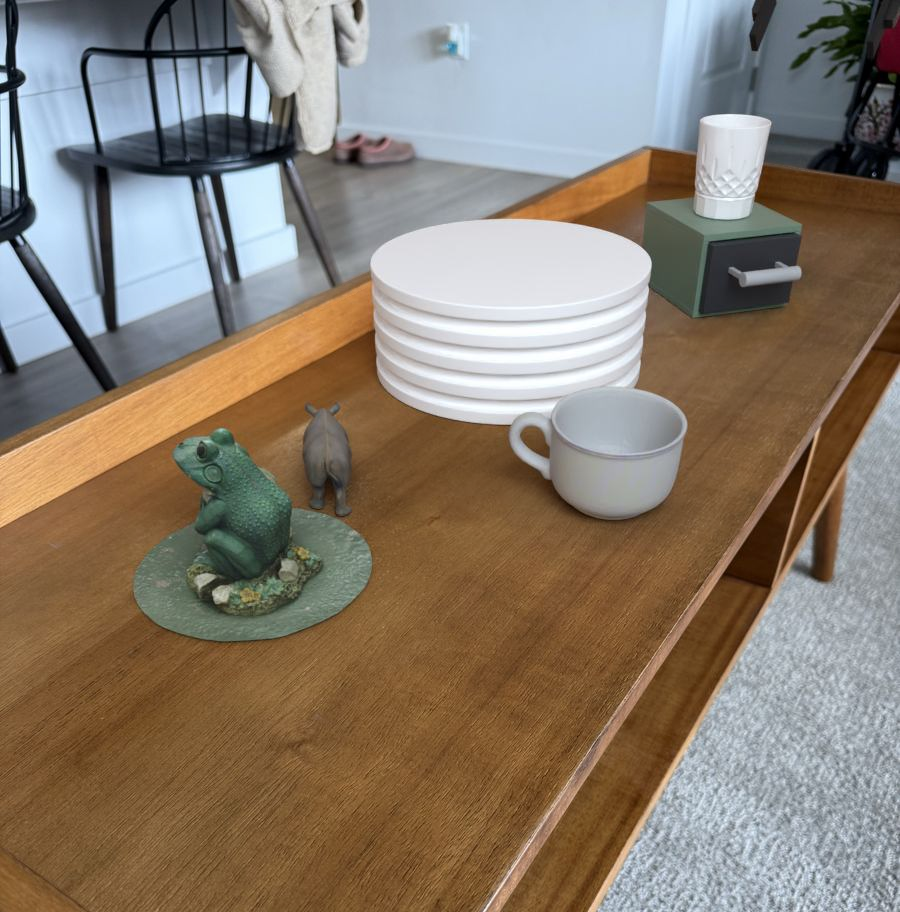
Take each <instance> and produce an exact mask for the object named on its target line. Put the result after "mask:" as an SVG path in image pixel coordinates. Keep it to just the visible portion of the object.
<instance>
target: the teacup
mask: <svg viewBox="0 0 900 912" xmlns="http://www.w3.org/2000/svg"><path fill="white" fill-rule="evenodd" d="M528 427H534V428H537V429H539V430H540V432H541V433H542V434H543V436H544V440H545V443H546V445H547V446H548V447H549V458H548V457H545V456H542V455H540V454H538V453H536V452H535V451H533V450H532V449H530V448H529V447H528V446H527V445H526V444H525V443H524V442H523V440H522V437H521V434H522V431H523V430H524V429H525V428H528ZM687 430H688V420H687V417H686V415H685V413H684V412H683V411H682V409H680V407H679V406H677V405H676V404H675V403H673V402H672V401H671V400H670V399H667V398H665V397H663V396H660V395H658V394H656V393H654V392H650V391H648V390H643V389H642V390H641V389H639V388H635V387H634V388H628V387H616V386H610V387H593V388H588V389H583V390H580V391H576V392H574V393H571V394H569V395H567V396H566V397H564V398H562V399H561V400H560V401H559V402H558V403H557V404H556V406H555V407H554V409H553V411H552V414H551V419H549V418H548V417H547V416H545V415H543V414H541V413H537V412H526V413H523V414H521V415H519V416H518V417H517V418H516V419H515V420H514V421H513V423H512V424H511V425H509V429H508V442H509V445H510V448H511V449H512V451H513V453H514V454H515V456H516V457H518V458H519V459H520V460H521V461H522V462H524V463H525V464H527V465H529V466H530V467H532V468H534V469H535V470H537V471H538V472H540V473H541V475H542V477H543V478H544V479H545V480H549V481H551V482H552V485H553V487H554V489H555V490H556V491H555V492H557V494H558V495H559V496H560V498H561V499H562V500H564V501H565V502H566V503H568V504H569V505H570V506H572V507H573V508H574V509H576V510H577V511H579V512H581V514H582V513H583V514H584V515H587V516H589V517H593V518H595V519H601V520H607V521H620V520H621V521H622V520H627V519H631V518H635V517H637V516H639V515H642V514H644V513H647V512H649V511H651V510H653V509H655V508H657V507H658V506H659V505H660V504H661V503H662V502H664V501H665V500H666V499H667V497H668V496H669V495H670V493H671V491H672V490H673V487H674V484H675V482H676V479H677V476H678V475H677V474H678V471H679V466H680V462H681V457H682V451H683V444H684V438H685V436H686V433H687Z"/></svg>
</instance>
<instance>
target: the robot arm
mask: <svg viewBox="0 0 900 912" xmlns="http://www.w3.org/2000/svg"><path fill="white" fill-rule="evenodd" d="M777 3H778V2H777V0H755V1H754V3H753V5H752V8H751V16H752V22H753V24H752V27H751V29H750V31H749V34H748V37H749V43H750V44H749V45H750V49H751V52H759V49H760V46H761V45H762V42H763V39H764V36H765V34H766V32H767V29H768V27H769V24H770V21H771V20H772V16H773V14H774V11H775V10H776V6H777ZM899 19H900V0H882V1H881V4H880V6H879V9H878V11H877V13H876V16H875V19H874V21H873V24H872V26H871V29H870V32H869V34H868V37H867V39H866V59H871V60H874V59H875V56H876V54H877V51H878V48H879V45H880V43H881V40H882V38H883V35H884V33H885V30H886V29H888V30H893V29H894V28H895V27H896V25H897V23H898V20H899Z"/></svg>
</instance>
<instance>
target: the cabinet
mask: <svg viewBox="0 0 900 912" xmlns="http://www.w3.org/2000/svg"><path fill="white" fill-rule="evenodd" d="M693 206H694V197H684V198H675V199H665V200H664V199H663V200H655V201H647V202H646V206H645V216H644V226H643V235H642V245H641V247H642V248H643V249H644V250H645V251H646V252H647V253H648V255H649V257H650V259H651V262H652V267H651V276H650V281H649V283H648V287H649V289H651V290H653V291H654V292H655V293H657V294H658V295H660V296H661V297H662V298H664V299H665V300H666V301H668V302H670V303H671V304H672V305H674V306H675V307H676V308H678V309H679V310H680V311H682V312H684V314H686V315H687V316H689V317H691V318H692V319H695V318H696V319H697V318H703V317H705V318H706V317H712V316H721V315H726V314H728V315H729V314H735V313H743V312H749V311H750V312H751V311H759V310H766V309H773V308H774V309H775V308H782V307H787V303H782V304H774V305H766V306H759V307H751V308H743V309H735V310H728V311H720V312H712V313H704V314H703V313H702V312H700V311H699V303H700V296H701V289H702V283H703V276H704V269H705V262H706V255H707V248H708V243H709V242H710V241H719V240H728V239H737V238H746V237H755V236H764V235H773V234H782V233H784V235H785V234H794V233H797V234H799V235H801V232H802V228H803V224H802V223H800V222H798V221H796V220H794V219H791V218H790V217H787V216H786V215H783V214H782V213H779V212H777V211H775V210H773V209H770V207H769V208H768V207H766V206H765V205H762V204H760V203H758V202H757V201H754V203H753V208H752V212H751V214H750V215H749V216H748V217H745V218H741V219H735V220H721V219H711V218H710V219H709V218H705V217H702V216H700V215H697V214H696V213H695V212H694V210H693Z"/></svg>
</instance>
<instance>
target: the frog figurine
mask: <svg viewBox="0 0 900 912" xmlns="http://www.w3.org/2000/svg"><path fill="white" fill-rule="evenodd" d="M171 456H172V458H173V461H174V462H175V463H176V466H177V467H178V468H179V470H180V471H181V472H182V473H183V474H184V475H185V476H186V477H188V478H189V479H190V480H192V481H193V482H194V483H195V484H197V486H199V487H200V488H201V490H202V495H201V496H200V498H199V512H198V514H197V515H196V518H195V520H194V522H192V523H190V524H187V525H185V526H184V527H183V528H180V529H178V530H177V531H174V532H172V533H170V534H169V535H168V536H166V537H165V538H164V539H162V540H161V541H159V542H157V544H155V545H154V546H153V547H152V548H151V549H150V550H149V551H148V552H147V553H146V555H145V556H144V557H143V558H142V559H141V561H140V563H139V565H138V566H137V567H136V570H135V573H134V577H133V579H132V580H133V582H132V591H133V597H134V599H135V601H136V604H137V606H138V607H139V608H140V610H141V611H142V612H143V613H144V614H145V616H147V617H148V618H150V620H151V621H153V622H154V623H155V624H156V625H158V626H160V627H161V628H164V629H166V630H169V631H171V632H175V633H177V634H180V635H184V636H187V637H191V638H197V639H198V640H199V639H200V640H206V641H215V642H239V641H241V642H242V641H243V642H244V641H258V640H270V639H277V638H280V637H284V636H285V637H286V636H288V635H291V634H294V633H296V632H299V631H301V630H304V629H307V628H310V627H312V626H315V625H316V624H319V623H321V622H323V621H325V620H327V619H329V618H331V617H333V616H335V615H337V614H338V613H340V612H342V611H343V610H344V609H345V608H346V607H347V606H348V605H350V604H351V603H352V602H353V601H354V600H355V599H356V598H357V597H358V596H359V595H360V594H361V592H362V591H363V590H364V589H365V587H366V585H367V584H368V582H369V580H370V577H371V576H372V575H371V574H372V571H373V557H372V556H373V555H372V552H371V548H370V546H369V544H368V542H367V541H366V539H365V538H364V537H363V535H362V534H361V533H360V532H358V531H356V529H354V528H353V527H351V526H349V525H348V524H346V523H345V522H344V521H342V520H340V519H339V518H335V517H333V516H331V515H328V514H326V513H321V512H317V511H314V510H309V509H303V508H300V507H299V508H298V507H293V505H292V503H293V500H292V499H291V497H290V495H289V494H288V493H287V492H286V490H284V489H283V488H282V487H281V486H279V485H277V483H278V481H277V478H276V476H275V475H274V473H272V472H271V471H269V470H268V469H266V468H264V467H262V466H258V465H257V464H256V463H255V462H254V460H252V458H251V456H250V454H249V452H248V451H247V449H246V448H245V447H243V446H242V445H241V444H239V443H238V442H236V441H235V437H234V434H233V433H232V432H231V431H230V430H228V429H227V428H224V427H219V428H216V429H214V430H213V431H212V433H210V435H208V436H207V435H205V436H204V435H203V436H191V437H187V438H185V439H184V440H183V441H182V442H179V443H178V444H177V445H176V446H175V448H173V451H172V455H171Z"/></svg>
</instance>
